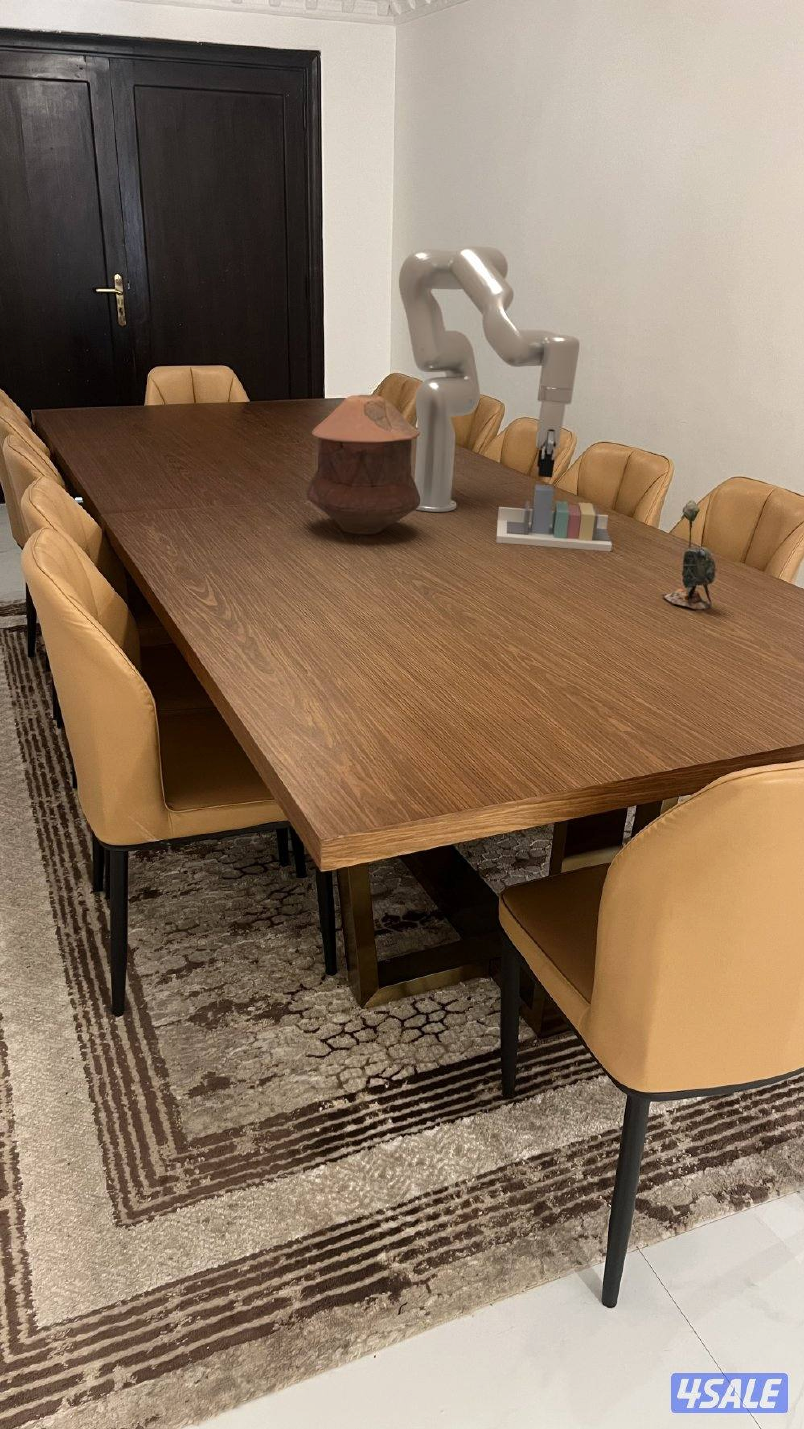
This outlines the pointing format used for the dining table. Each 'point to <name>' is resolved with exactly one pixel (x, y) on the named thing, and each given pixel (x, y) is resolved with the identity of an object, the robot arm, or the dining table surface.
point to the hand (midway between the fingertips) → (544, 472)
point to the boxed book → (542, 509)
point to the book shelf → (544, 537)
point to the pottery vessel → (364, 465)
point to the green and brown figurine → (694, 570)
